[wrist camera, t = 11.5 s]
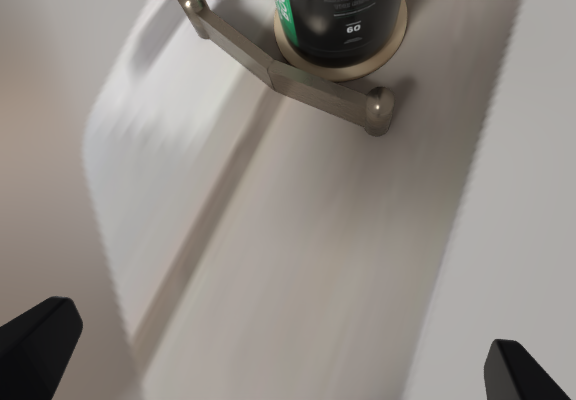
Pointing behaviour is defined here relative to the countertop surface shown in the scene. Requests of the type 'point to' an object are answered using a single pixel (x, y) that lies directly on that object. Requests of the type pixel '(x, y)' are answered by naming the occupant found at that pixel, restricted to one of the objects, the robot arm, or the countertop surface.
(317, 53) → the supplement bottle
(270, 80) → the bent rail
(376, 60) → the cork coaster
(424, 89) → the countertop surface
